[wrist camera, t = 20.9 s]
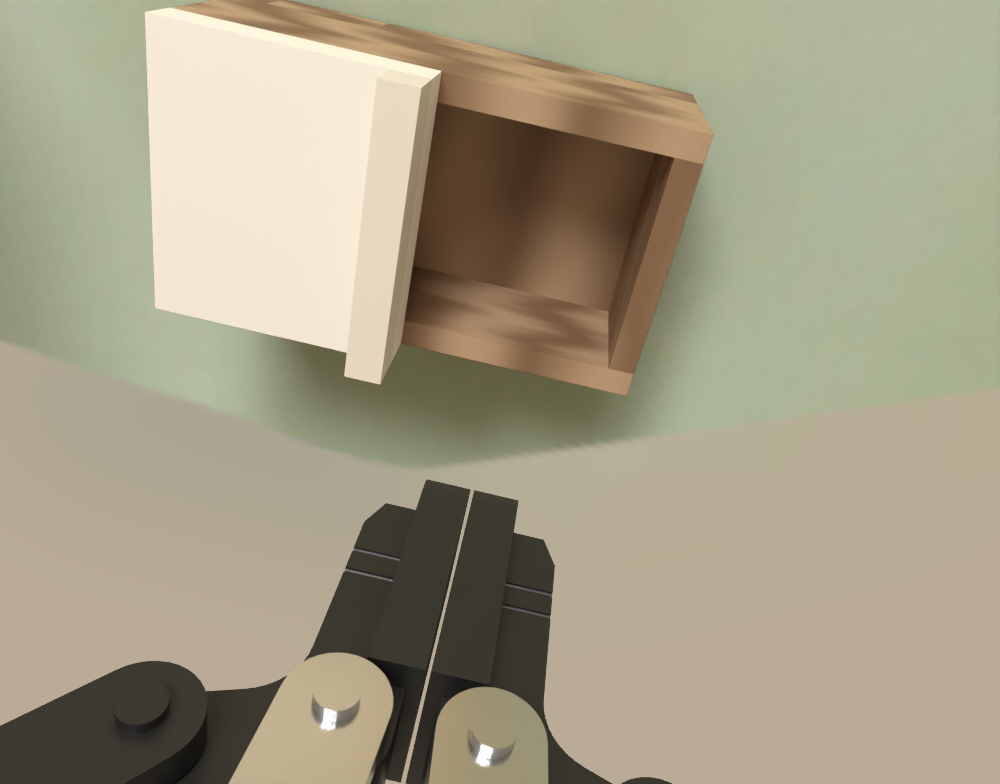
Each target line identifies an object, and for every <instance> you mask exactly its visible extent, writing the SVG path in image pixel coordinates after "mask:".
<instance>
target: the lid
mask: <svg viewBox="0 0 1000 784" xmlns="http://www.w3.org/2000/svg"><path fill="white" fill-rule="evenodd" d="M145 27H146V55H147V84H148V113H149V141H150V170H151V198H152V227H153V255H154V284H155V308H158V309H162V310H166V311H170V312H175V313H179V314H183V315H188V316H192V317H196V318H200V319H205V320H209V321H213V322H218V323H222V324H226V325H230V326H235V327H239V328H243V329H248V330H252V331H256V332H260V333H265V334H269V335H273V336H278V337H282V338H286V339H290V340H295V341H299V342H303V343H308V344H312V345H316V346H320V347H325V348H329V349H333V350H338V351H342V352H346V353H347V355H346V364H345V373H344V376H345V377H349V378H354V379H358V380H362V381H367V382H371V383H375V384H379V385H380V384H381V382H382V380H383V378H384V376H385V374H386V372H387V370H388V368H389V366H390V364H391V362H392V360H393V358H394V356H395V354H396V352H397V350H398V348H399V346H400V344H401V340H402V333H403V327H404V320H405V313H406V307H407V300H408V293H409V287H410V280H411V273H412V267H413V260H414V253H415V247H416V240H417V233H418V227H419V220H420V213H421V207H422V200H423V193H424V187H425V180H426V173H427V167H428V160H429V153H430V147H431V140H432V133H433V127H434V120H435V113H436V107H437V100H438V93H439V87H440V80H441V73H442V71H440V70H435V69H431V68H427V67H423V66H418V65H414V64H410V63H405V62H401V61H397V60H393V59H388V58H384V57H380V56H375V55H371V54H367V53H363V52H358V51H354V50H350V49H345V48H341V47H337V46H333V45H328V44H324V43H320V42H315V41H311V40H307V39H303V38H298V37H294V36H290V35H286V34H281V33H277V32H273V31H268V30H264V29H260V28H256V27H251V26H247V25H243V24H238V23H234V22H230V21H226V20H221V19H217V18H213V17H208V16H204V15H200V14H196V13H191V12H187V11H183V10H178V9H174V8H166V9H160V10H154V11H148V12H145Z"/></svg>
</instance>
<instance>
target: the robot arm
mask: <svg viewBox="0 0 1000 784" xmlns="http://www.w3.org/2000/svg"><path fill="white" fill-rule="evenodd" d="M469 494H470V489H466V488H461V487H457V486H453V485H448V484H444V483H440V482H436V481H431V480H426V482H425V485H424V488H423V491H422V494H421V497H420V500H419V503H418V506H417V509H416V510H413V509H408V508H404V507H400V506H395V505H391V504H387V503H386V504H385V505H384V506H383V507H381V508H380V509H379V510H378V511H377V512H375V513H374V514H373V515H372V516H371V517H369V518H368V519H367V520H366V521H365V522H364V524H363V526H362V529H361V531H360V534H359V536H358V538H357V541H356V543H355V546H354V550H353V551H352V553H351V556H350V558H349V560H348V563H347V565H346V569H345V572H343V575H342V577H341V580H340V582H339V585H338V587H337V589H336V592H335V594H334V597H333V600H332V602H331V604H330V606H329V609H328V611H327V614H326V616H325V618H324V621H323V623H322V626H321V628H320V631H319V633H318V635H317V638H316V640H315V643H314V645H313V647H312V649H311V651H310V653H309V655H308V656H307V658H306V659H305V660H304V662H302V663H300V664H299V665H298V666H297V667H295V668H294V669H293V670H292V671H291V672H290V673H289V674H288V675H287V676H285V677H284V678H282V679H280V680H278V681H276V682H273V683H271V684H268V685H264V686H260V687H256V688H249V689H237V690H221V691H207V692H205V689H204V686H203V685H202V683H201V681H200V680H199V679H198V678H197V677H196V676H195V674H193V673H192V672H191V671H189V670H188V669H186V668H184V667H182V666H180V665H177V664H173V663H170V662H162V661H147V662H140V663H135V664H131V665H128V666H125V667H122V668H120V669H117V670H115V671H113V672H111V673H109V674H107V675H105V676H103V677H101V678H99V679H97V680H94V681H93V682H90V683H88V684H86V685H84V686H82V687H80V688H78V689H76V690H74V691H72V692H70V693H67V694H65V695H64V696H61V697H59V698H57V699H55V700H53V701H51V702H49V703H47V704H45V705H43V706H41V707H39V708H37V709H34V710H32V711H30V712H28V713H26V714H24V715H22V716H20V717H18V718H16V719H14V720H12V721H10V722H7V723H5V724H3V725H1V726H0V784H385V781H386V779H388V780H392V781H397V782H401V779H402V775H403V771H404V767H405V763H406V758H407V754H408V750H409V746H410V742H411V738H412V734H413V730H414V725H415V721H416V717H417V713H418V709H419V705H420V701H421V696H422V693H423V689H424V684H425V680H426V676H427V672H428V668H429V664H430V660H431V656H432V652H433V647H434V643H435V639H436V635H437V631H438V627H439V622H440V619H441V614H442V610H443V606H444V602H445V598H446V594H447V590H448V586H449V581H450V577H451V572H452V569H453V564H454V560H455V555H456V551H457V546H458V542H459V538H460V534H461V529H462V525H463V520H464V516H465V512H466V507H467V503H468V498H469ZM517 506H518V500H513V499H509V498H505V497H501V496H496V495H492V494H488V493H483V492H479V491H474V494H473V498H472V503H471V507H470V511H469V515H468V519H467V524H466V528H465V532H464V536H463V540H462V545H461V549H460V553H459V557H458V561H457V566H456V570H455V574H454V578H453V582H452V587H451V591H450V595H449V599H448V604H447V608H446V612H445V616H444V621H443V625H442V629H441V633H440V637H439V641H438V646H437V650H436V654H435V658H434V662H433V666H432V671H431V675H430V679H429V684H428V688H427V693H426V697H425V701H424V705H423V710H422V714H421V718H420V723H419V727H418V731H417V736H416V740H415V744H414V749H413V753H412V758H411V762H410V767H409V771H408V775H407V779H406V784H612V783H610V782H608V781H607V780H605V779H603V778H601V777H600V776H598V775H596V774H595V773H593V772H591V771H589V770H587V769H586V768H584V767H583V766H581V765H580V764H578V763H577V762H575V761H574V760H573V759H572V758H570V757H569V756H568V755H567V754H566V753H565V752H564V751H563V749H562V748H561V747H560V746H559V745H558V743H557V742H556V741H555V739H554V738H553V736H552V734H551V732H550V730H549V728H548V725H547V722H546V719H545V715H544V689H545V677H546V665H547V652H548V641H549V628H550V615H551V605H552V598H551V596H552V592H553V580H554V567H555V565H554V563H553V561H552V559H551V556H550V554H549V551H548V549H547V547H546V544H545V542H544V540H542V539H538V538H533V537H529V536H525V535H520V534H516V533H513V532H514V526H515V519H516V513H517ZM622 784H672V783H669V782H667V781H664V780H661V779H656V778H650V777H640V778H635V779H631V780H628V781H626V782H623V783H622Z"/></svg>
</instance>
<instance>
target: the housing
mask: <svg viewBox="0 0 1000 784" xmlns="http://www.w3.org/2000/svg"><path fill="white" fill-rule="evenodd" d="M173 8H174V9H178V10H183V11H187V12H191V13H196V14H200V15H204V16H208V17H213V18H217V19H221V20H226V21H230V22H234V23H238V24H243V25H247V26H251V27H256V28H260V29H264V30H268V31H273V32H277V33H281V34H286V35H290V36H294V37H298V38H303V39H307V40H311V41H315V42H320V43H324V44H328V45H333V46H337V47H341V48H345V49H350V50H354V51H358V52H363V53H367V54H371V55H375V56H380V57H384V58H388V59H393V60H397V61H401V62H405V63H410V64H414V65H418V66H423V67H427V68H431V69H435V70H440V71H442V73H441V80H440V87H439V93H438V100H437V107H436V113H435V120H434V127H433V133H432V140H431V147H430V153H429V160H428V167H427V173H426V180H425V187H424V193H423V200H422V207H421V213H420V220H419V227H418V233H417V240H416V247H415V253H414V260H413V267H412V273H411V280H410V287H409V293H408V300H407V307H406V313H405V320H404V327H403V333H402V340H401V343H402V344H406V345H410V346H415V347H419V348H423V349H428V350H432V351H436V352H440V353H445V354H449V355H453V356H458V357H462V358H466V359H470V360H475V361H479V362H483V363H488V364H492V365H496V366H500V367H505V368H509V369H513V370H518V371H522V372H526V373H530V374H535V375H539V376H543V377H547V378H552V379H556V380H560V381H565V382H569V383H573V384H577V385H582V386H586V387H590V388H595V389H599V390H603V391H607V392H612V393H616V394H620V395H625V396H626V395H627V392H628V389H629V386H630V383H631V380H632V377H633V374H634V371H635V368H636V365H637V362H638V359H639V356H640V353H641V350H642V347H643V344H644V341H645V338H646V335H647V332H648V329H649V326H650V323H651V320H652V317H653V314H654V311H655V308H656V305H657V302H658V299H659V296H660V293H661V290H662V287H663V284H664V281H665V278H666V275H667V272H668V269H669V266H670V263H671V260H672V257H673V254H674V251H675V248H676V245H677V242H678V239H679V236H680V233H681V230H682V227H683V224H684V221H685V219H686V216H687V213H688V210H689V207H690V204H691V201H692V198H693V195H694V192H695V189H696V186H697V183H698V180H699V177H700V174H701V171H702V168H703V165H704V162H705V159H706V156H707V153H708V150H709V147H710V144H711V141H712V138H713V135H714V134H713V132H712V131H711V129H710V127H709V125H708V123H707V121H706V119H705V117H704V116H703V114H702V112H701V110H700V108H699V106H698V104H697V102H696V101H695V99H694V97H693V95H692V94H688V93H684V92H679V91H675V90H671V89H666V88H662V87H658V86H654V85H649V84H645V83H641V82H636V81H632V80H628V79H624V78H619V77H615V76H611V75H606V74H602V73H598V72H594V71H589V70H585V69H581V68H576V67H572V66H568V65H564V64H559V63H555V62H551V61H547V60H542V59H538V58H534V57H529V56H525V55H521V54H517V53H512V52H508V51H504V50H499V49H495V48H491V47H487V46H482V45H478V44H474V43H469V42H465V41H461V40H457V39H452V38H448V37H444V36H439V35H435V34H431V33H427V32H422V31H418V30H414V29H409V28H405V27H401V26H397V25H392V24H388V23H384V22H379V21H375V20H371V19H367V18H362V17H358V16H354V15H349V14H345V13H341V12H337V11H332V10H328V9H324V8H319V7H315V6H311V5H307V4H302V3H298V2H294V1H289V0H214V1H208V2H202V3H196V4H191V5H185V6H179V7H173Z"/></svg>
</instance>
